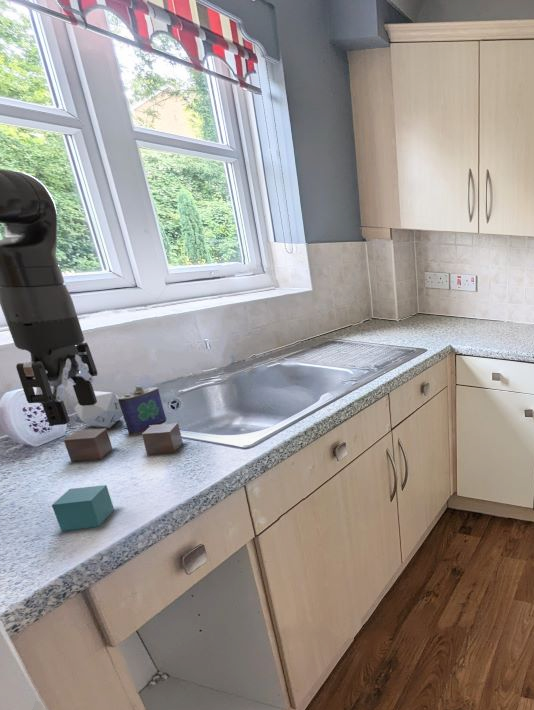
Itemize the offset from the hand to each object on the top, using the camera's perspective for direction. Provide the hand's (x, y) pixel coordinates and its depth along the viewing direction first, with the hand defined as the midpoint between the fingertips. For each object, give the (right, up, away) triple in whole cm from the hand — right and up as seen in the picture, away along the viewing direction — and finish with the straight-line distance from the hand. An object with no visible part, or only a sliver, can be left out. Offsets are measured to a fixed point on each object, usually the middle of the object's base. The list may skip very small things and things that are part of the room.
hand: (75, 413), depth 74 cm
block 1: (-19, -10, +23) cm, 31 cm away
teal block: (0, -18, +2) cm, 18 cm away
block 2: (-7, -9, +27) cm, 29 cm away
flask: (-19, -5, +37) cm, 41 cm away
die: (-30, -4, +37) cm, 48 cm away
